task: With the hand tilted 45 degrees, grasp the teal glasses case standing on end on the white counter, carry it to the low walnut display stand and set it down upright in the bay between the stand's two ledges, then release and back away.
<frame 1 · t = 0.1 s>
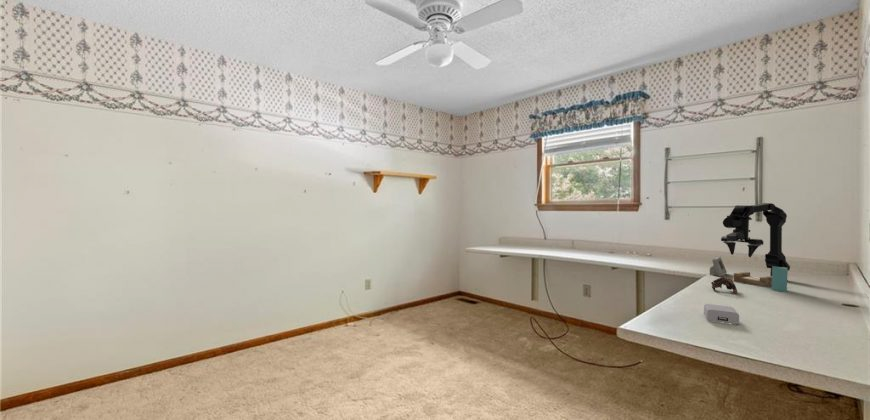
hand: (740, 255, 203), 15 cm above the table, tool pointing down, fingers open, 9 cm apart
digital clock: (719, 275, 223), on the table
charger: (719, 318, 139), on the table
display stand: (754, 283, 201), on the table
brown curved arch: (725, 292, 181), on the table
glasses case: (779, 290, 185), on the table
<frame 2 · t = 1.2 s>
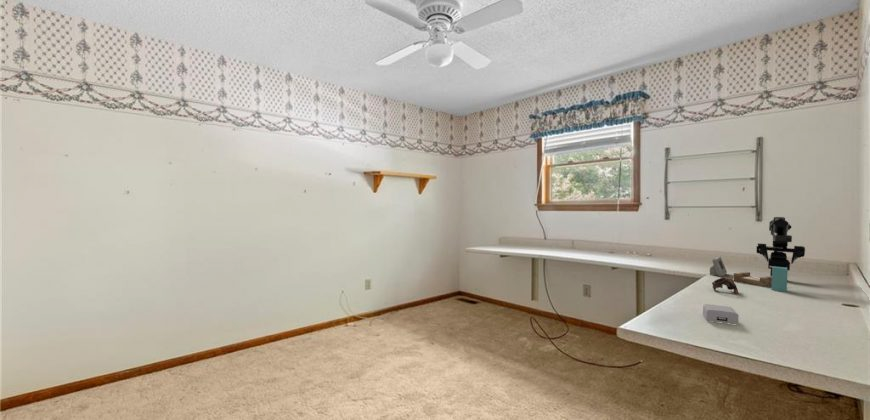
hand: (779, 262, 191), 13 cm above the table, tool tilted 45°, fingers open, 9 cm apart
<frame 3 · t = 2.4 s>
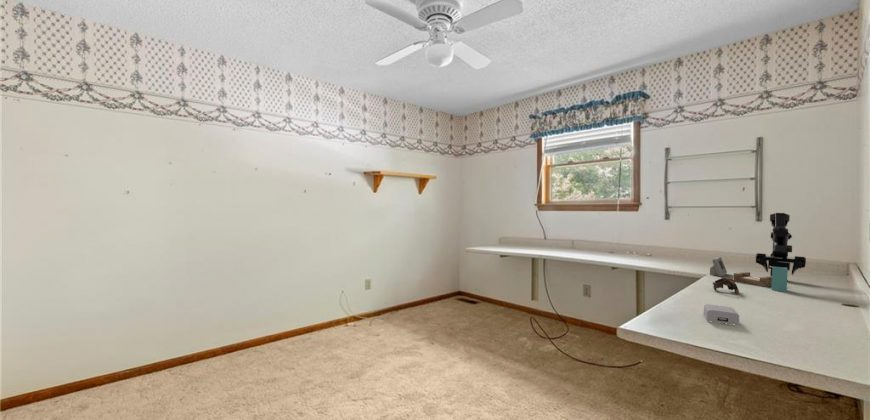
hand: (779, 273, 185), 9 cm above the table, tool tilted 45°, fingers open, 9 cm apart
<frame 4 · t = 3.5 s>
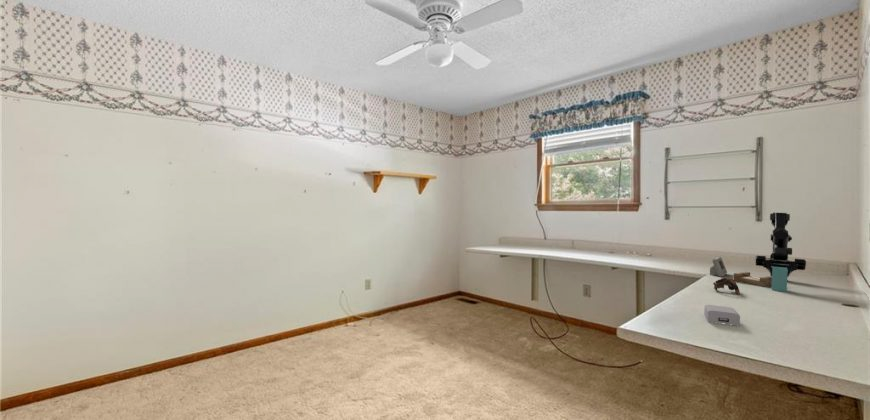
hand: (779, 275, 184), 8 cm above the table, tool tilted 45°, fingers closed on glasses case, 5 cm apart
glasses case: (779, 290, 185), on the table, touching gripper
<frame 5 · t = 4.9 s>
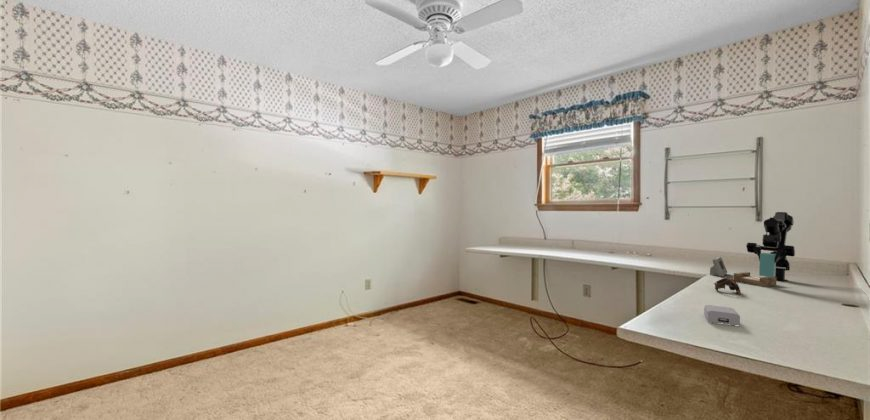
hand: (767, 261, 191), 14 cm above the table, tool tilted 45°, fingers closed on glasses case, 5 cm apart
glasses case: (767, 275, 192), point 6 cm above the table, touching gripper
when the fingers open (11 cm above the table, at t = 6.4 s): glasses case stays where it is, resting on display stand.
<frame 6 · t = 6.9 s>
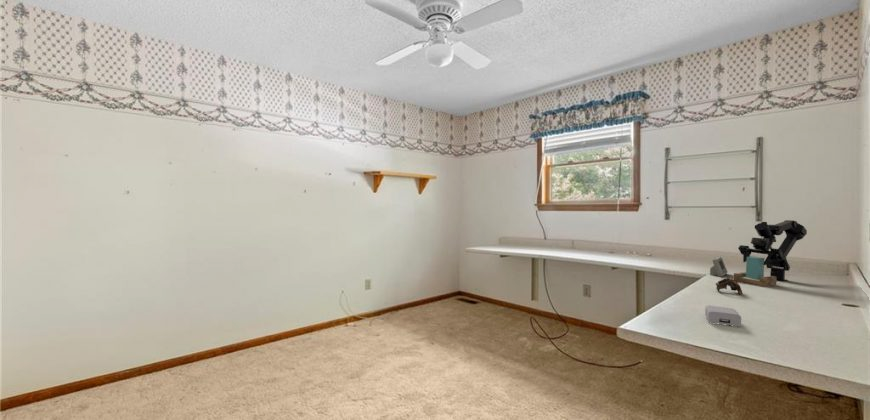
hand: (753, 263, 200), 11 cm above the table, tool tilted 45°, fingers open, 9 cm apart
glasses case: (754, 278, 201), point 3 cm above the table, touching display stand
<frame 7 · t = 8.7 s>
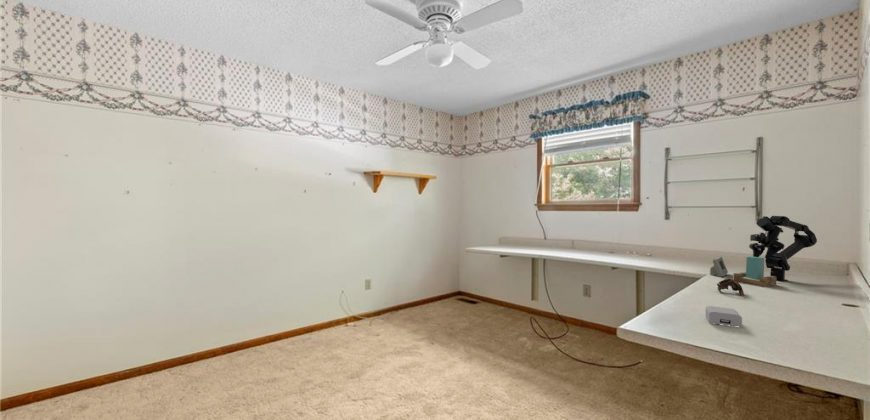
hand: (759, 259, 206), 12 cm above the table, tool tilted 30°, fingers open, 9 cm apart
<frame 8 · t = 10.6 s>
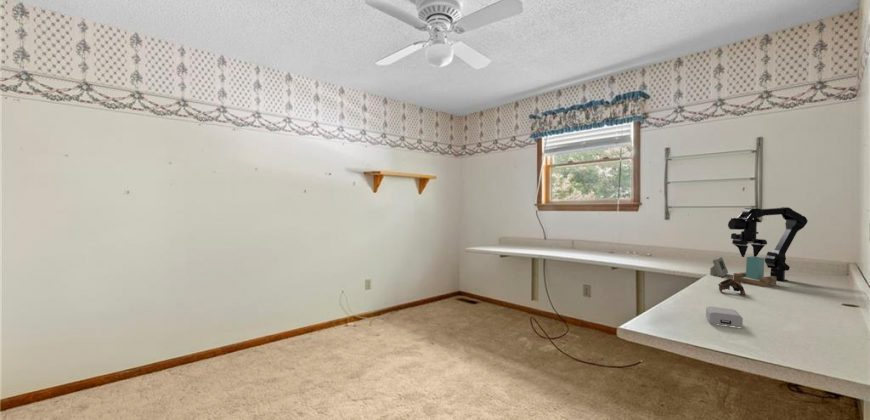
hand: (749, 256, 211), 13 cm above the table, tool pointing down, fingers open, 9 cm apart
at the end: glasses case inside the target area on the display stand (0.0 cm from its centre), point 2.7 cm above the display stand's base; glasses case tilted 0°; the gripper is holding nothing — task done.
